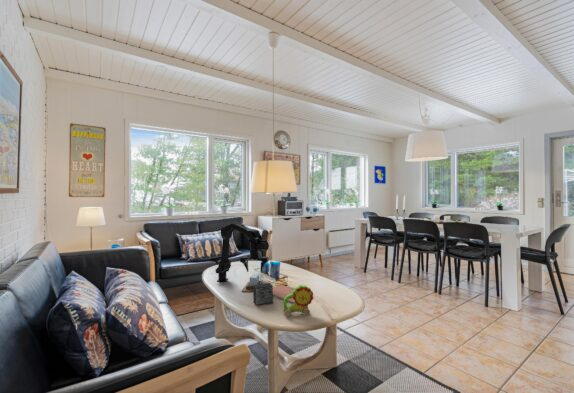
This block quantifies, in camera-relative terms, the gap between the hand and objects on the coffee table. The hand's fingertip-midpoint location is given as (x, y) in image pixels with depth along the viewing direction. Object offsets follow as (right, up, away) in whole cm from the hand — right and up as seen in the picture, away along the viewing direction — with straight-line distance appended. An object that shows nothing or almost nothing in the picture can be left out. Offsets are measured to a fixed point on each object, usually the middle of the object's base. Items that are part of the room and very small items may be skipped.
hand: (254, 272), depth 195 cm
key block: (0, -10, 0) cm, 10 cm away
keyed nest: (0, -11, 0) cm, 11 cm away
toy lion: (+28, -12, -42) cm, 52 cm away
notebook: (+22, -12, -13) cm, 28 cm away
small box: (+8, -11, -26) cm, 29 cm away
